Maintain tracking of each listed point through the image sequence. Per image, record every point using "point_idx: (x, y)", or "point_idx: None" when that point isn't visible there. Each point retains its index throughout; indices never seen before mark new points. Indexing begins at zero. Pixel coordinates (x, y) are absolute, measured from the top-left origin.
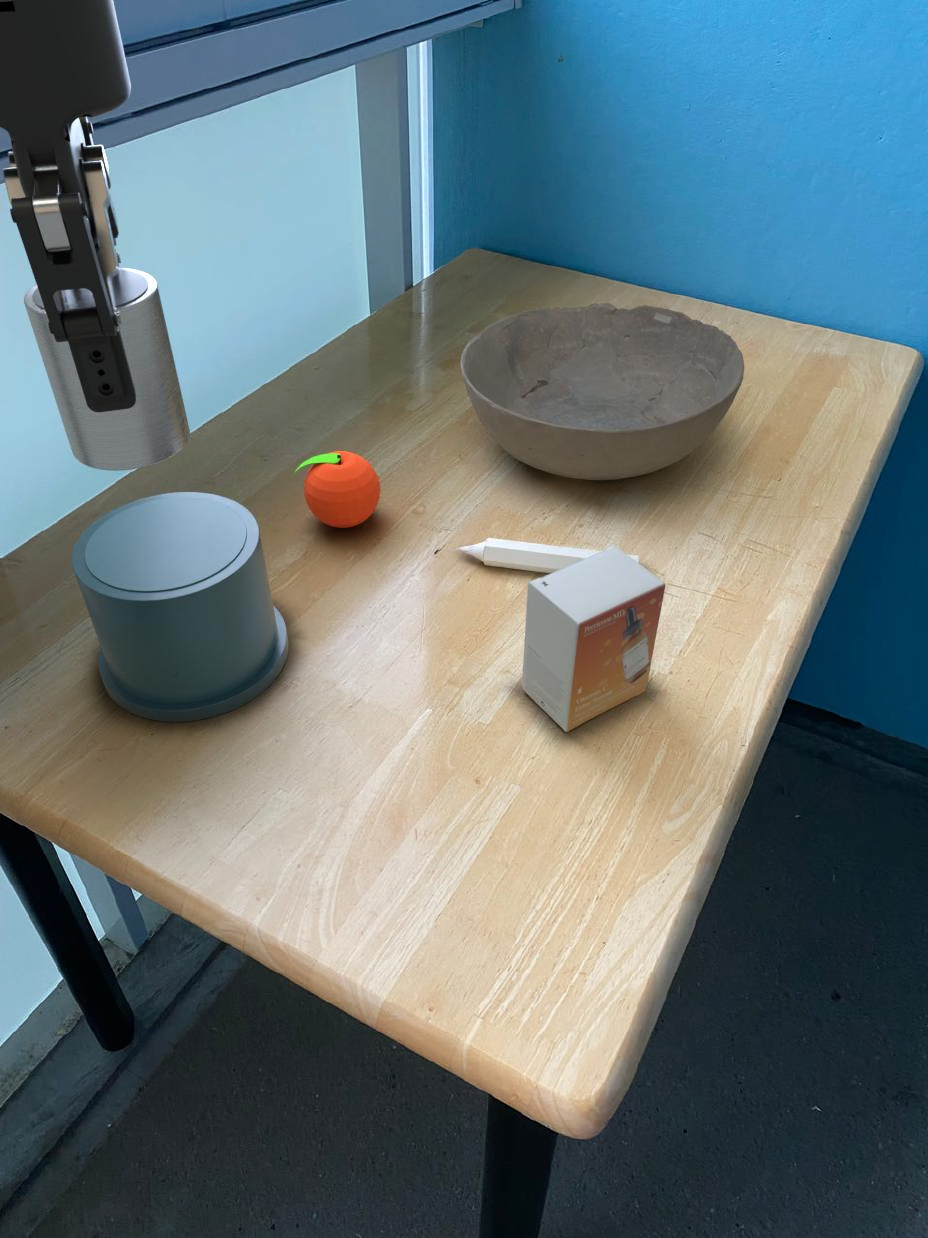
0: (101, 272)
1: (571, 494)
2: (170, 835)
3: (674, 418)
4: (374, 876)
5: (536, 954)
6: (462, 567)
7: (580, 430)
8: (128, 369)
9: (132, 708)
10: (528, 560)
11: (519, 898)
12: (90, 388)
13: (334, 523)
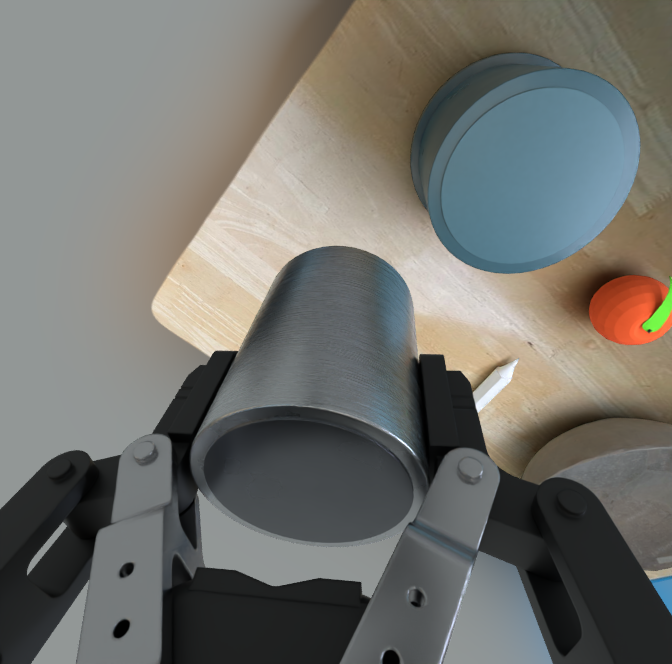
0: (66, 609)
1: (546, 428)
2: (302, 128)
3: None
4: (256, 254)
5: (209, 314)
6: (503, 353)
7: (543, 480)
8: None
9: (436, 93)
10: (478, 392)
11: (238, 315)
12: (183, 386)
13: (598, 290)
